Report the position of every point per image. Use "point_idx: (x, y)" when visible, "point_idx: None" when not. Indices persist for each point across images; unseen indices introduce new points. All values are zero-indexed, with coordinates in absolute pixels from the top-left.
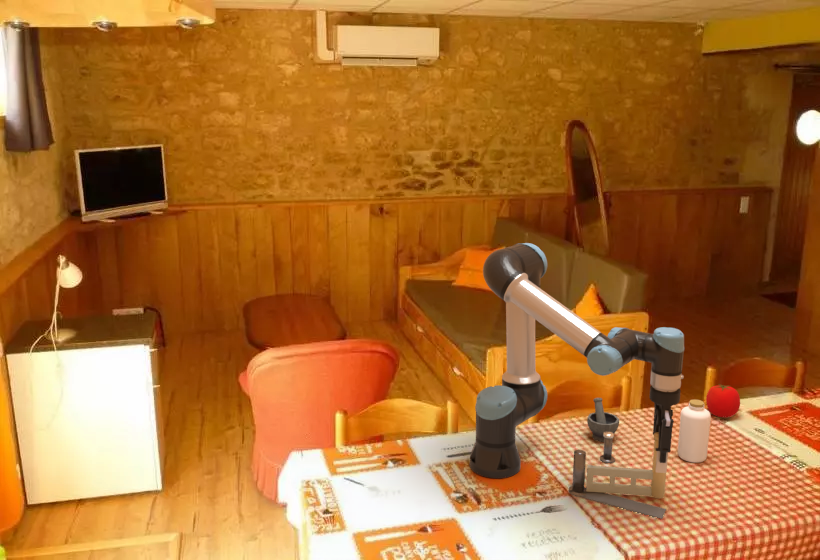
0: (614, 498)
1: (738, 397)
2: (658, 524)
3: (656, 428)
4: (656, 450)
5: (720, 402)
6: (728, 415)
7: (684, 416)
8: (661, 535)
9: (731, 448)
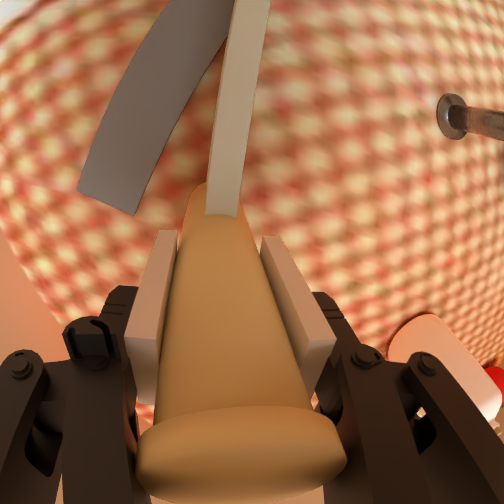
0: (197, 39)
1: None
2: (54, 173)
3: (370, 498)
4: (69, 327)
5: None
6: None
7: (480, 402)
8: (10, 175)
9: None
